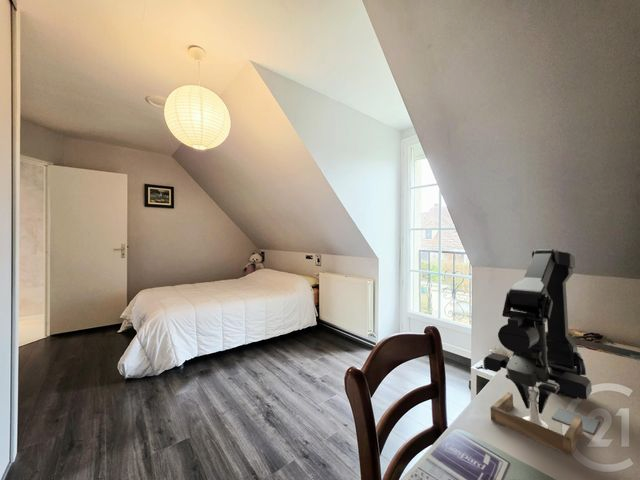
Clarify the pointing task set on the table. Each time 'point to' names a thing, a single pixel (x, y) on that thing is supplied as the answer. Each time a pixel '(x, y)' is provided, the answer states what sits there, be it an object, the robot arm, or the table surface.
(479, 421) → the table surface
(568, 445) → the wooden frame
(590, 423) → the pad
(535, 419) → the chess piece
